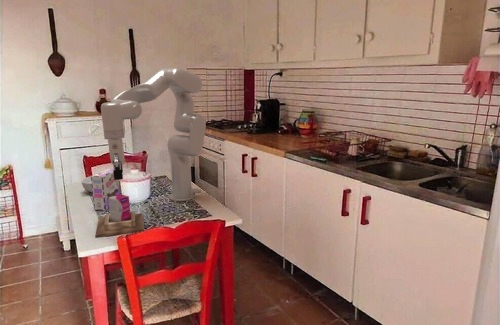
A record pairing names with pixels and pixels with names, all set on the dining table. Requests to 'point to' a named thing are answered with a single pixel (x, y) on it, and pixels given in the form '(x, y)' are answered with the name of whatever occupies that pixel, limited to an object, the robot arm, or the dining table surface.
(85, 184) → the cereal bowl
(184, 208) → the dining table surface
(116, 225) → the walnut stand
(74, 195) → the dining table surface
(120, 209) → the supplement box
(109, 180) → the candy box
